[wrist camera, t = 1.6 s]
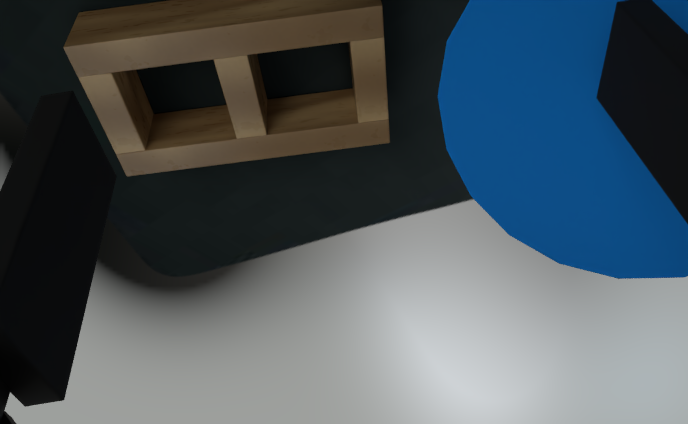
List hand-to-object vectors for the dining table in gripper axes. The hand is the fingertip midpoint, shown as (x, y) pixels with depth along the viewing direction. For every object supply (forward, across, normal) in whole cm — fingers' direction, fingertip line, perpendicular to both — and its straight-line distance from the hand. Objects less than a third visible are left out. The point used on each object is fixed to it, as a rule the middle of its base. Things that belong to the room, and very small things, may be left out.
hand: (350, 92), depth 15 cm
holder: (+23, -6, -12) cm, 27 cm away
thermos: (+19, +22, -8) cm, 30 cm away
